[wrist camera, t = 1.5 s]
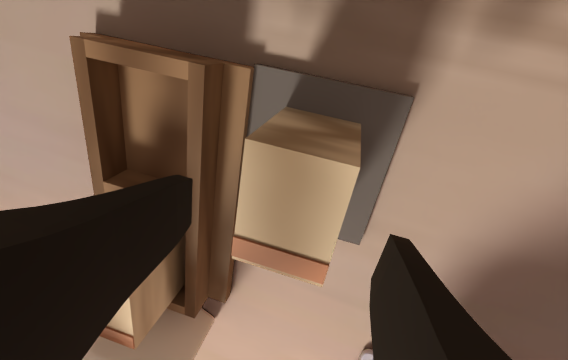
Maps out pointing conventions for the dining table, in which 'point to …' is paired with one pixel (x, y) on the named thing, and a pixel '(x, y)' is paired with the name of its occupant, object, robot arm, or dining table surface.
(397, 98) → the charcoal mat
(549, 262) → the dining table surface
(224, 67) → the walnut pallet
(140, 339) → the block
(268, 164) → the birch block
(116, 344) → the medicine bottle
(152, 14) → the dining table surface
